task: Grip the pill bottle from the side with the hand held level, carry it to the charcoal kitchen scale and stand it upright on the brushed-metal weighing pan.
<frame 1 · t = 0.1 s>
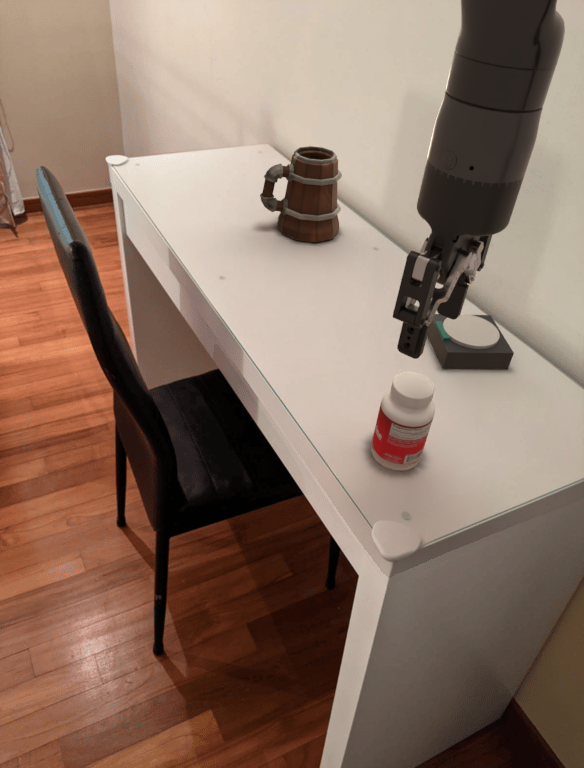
hand: (429, 333, 57), 21 cm above the table, tool pointing down, fingers open, 8 cm apart
pill bottle: (394, 455, 75), on the table
mug: (297, 230, 121), on the table
scale: (465, 348, 93), on the table
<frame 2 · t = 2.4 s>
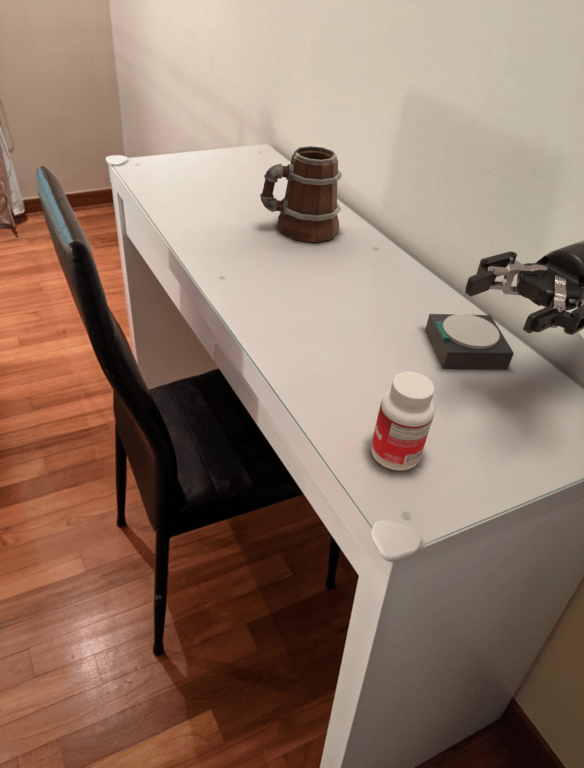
hand: (497, 305, 69), 18 cm above the table, tool horizontal, fingers open, 8 cm apart
nothing on the table moved.
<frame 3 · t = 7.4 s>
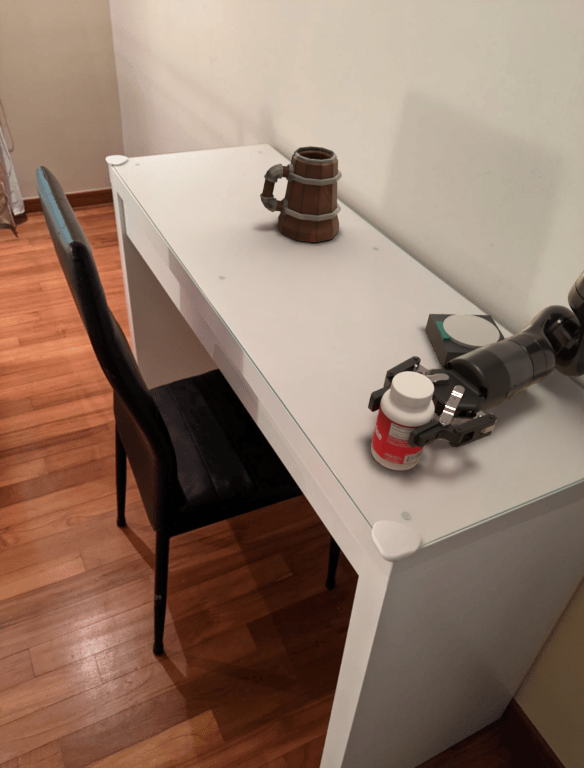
hand: (390, 421, 69), 7 cm above the table, tool horizontal, fingers closed on pill bottle, 6 cm apart
pill bottle: (394, 455, 75), on the table, touching gripper
everything else where it was.
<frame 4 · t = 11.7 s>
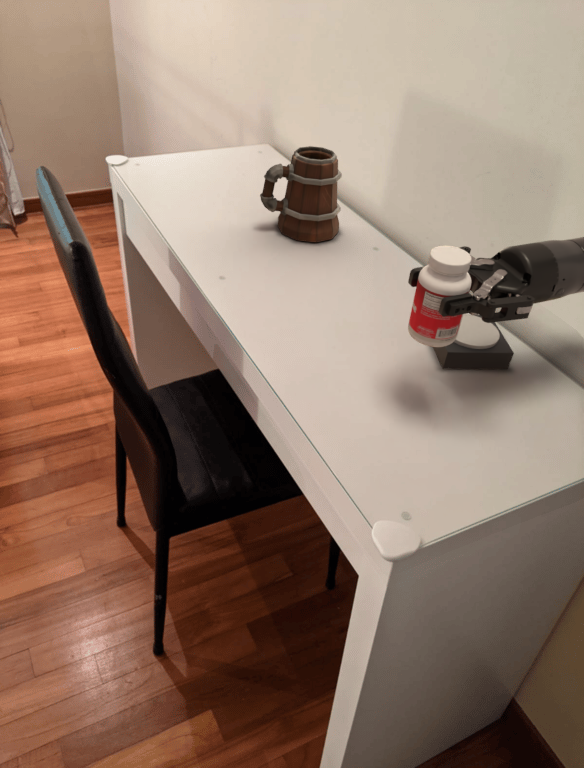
hand: (426, 292, 72), 17 cm above the table, tool horizontal, fingers closed on pill bottle, 6 cm apart
pill bottle: (431, 335, 77), point 10 cm above the table, touching gripper
everything else where it was.
when the fingers open (10 cm above the table, at t = 16.3 s): pill bottle stays where it is, resting on scale.
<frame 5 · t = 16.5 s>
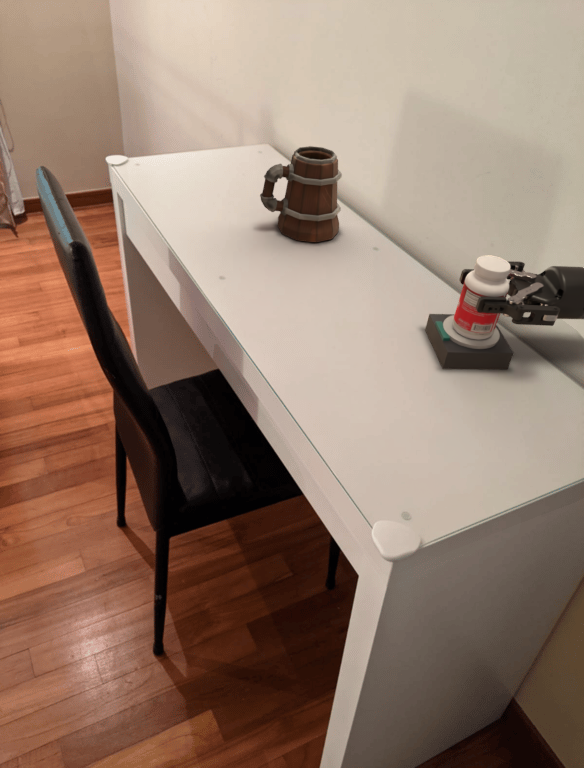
hand: (469, 290, 87), 10 cm above the table, tool horizontal, fingers open, 7 cm apart
pill bottle: (471, 330, 91), point 3 cm above the table, touching scale
everything else where it was.
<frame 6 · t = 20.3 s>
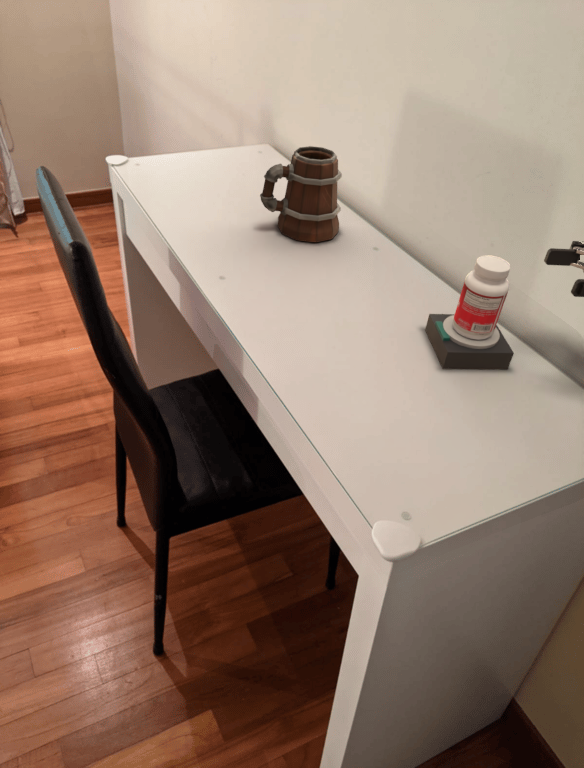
hand: (559, 271, 81), 16 cm above the table, tool horizontal, fingers open, 8 cm apart
nothing on the table moved.
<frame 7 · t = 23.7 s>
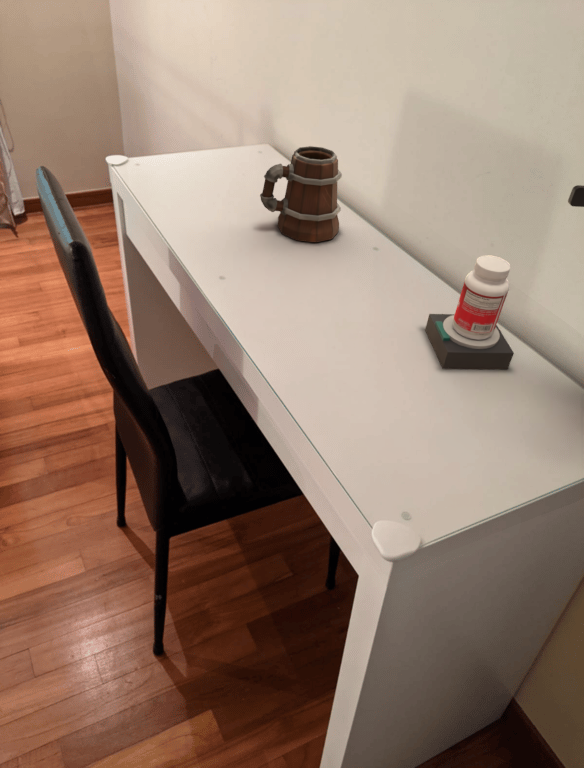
nothing on the table moved.
at the end: pill bottle inside the target area on the scale (0.1 cm from its centre), point 3.4 cm above the scale's base; pill bottle tilted 0°; the gripper is holding nothing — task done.
